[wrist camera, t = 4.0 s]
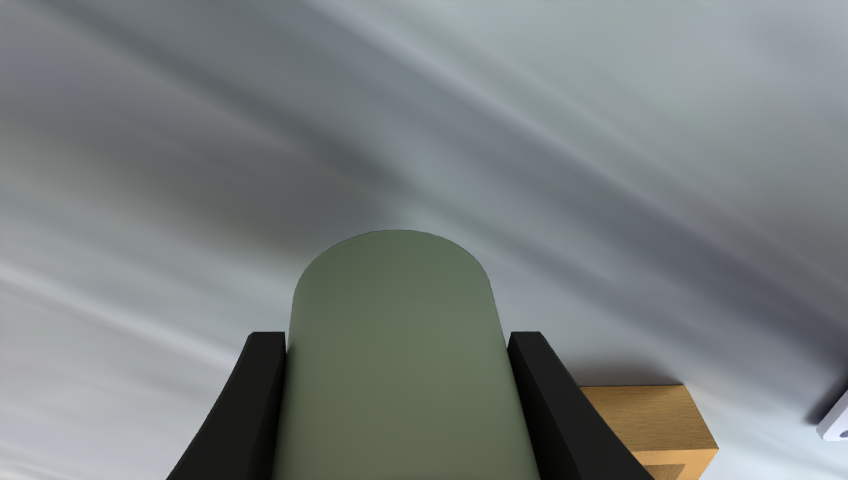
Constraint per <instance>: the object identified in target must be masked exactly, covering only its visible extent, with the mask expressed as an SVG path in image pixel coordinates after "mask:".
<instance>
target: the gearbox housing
mask: <svg viewBox="0 0 848 480" xmlns="http://www.w3.org/2000/svg"><path fill="white" fill-rule="evenodd" d="M579 388H580V389H581V390H582V392H583V393H584V394H585V396H586V397H587V398H588V400H589V401H590V402H591V404H592V405H593V406H594V407H595V409H596V410H597V411H598V413H599V414H600V415H601V417H602V418H603V419H604V420H605V422H606V423H607V424H608V425H609V427H610V428H611V429H612V430H613V432H614V433H615V434H616V435H617V437H618V438H619V439H620V440H621V441H622V442H623V444H624V445H625V446H626V447H627V448H628V449H629V451H630V452H631V453H632V454H633V455H634V457H635V458H636V459H637V460H638V461H639V462H640V463H641V464H642V466H643V467H644V468H645V469H646V470H647V471H648V472H649V473H650V474H651V475H652V476H653V478H654V479H655V480H698V479H699V478H700V476H701V475H702V473H703V472H704V470H705V469H706V467H707V466H708V464H709V463H710V462H711V460H712V459H713V457H714V456H715V454H716V453H717V451H718V450H719V448H718V446H717V444H716V442H715V440H714V438H713V436H712V435H711V433H710V431H709V429H708V427H707V425H706V423H705V421H704V420H703V418H702V416H701V414H700V412H699V410H698V408H697V406H696V405H695V403H694V401H693V399H692V397H691V395H690V393H689V391H688V390H687V388H686V386H685V385H677V386H614V387H579Z"/></svg>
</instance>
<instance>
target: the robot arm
mask: <svg viewBox="0 0 848 480" xmlns="http://www.w3.org/2000/svg"><path fill="white" fill-rule="evenodd" d="M507 351H508V355H509V359H510V363H511V367H512V370H513V374H514V378H515V382H516V386H517V390H518V394H519V398H520V402H521V405H522V409H523V413H524V417H525V421H526V425H527V429H528V433H529V436H530V440H531V444H532V448H533V452H534V456H535V460H536V464H537V467H538V471H539V475H540V479H541V480H655V479H654V478H653V476H652V475H651V474H650V473H649V472H648V471H647V470H646V469H645V468H644V467H643V466H642V464H641V463H640V462H639V461H638V460H637V459H636V458H635V457H634V455H633V454H632V453H631V452H630V451H629V449H628V448H627V447H626V446H625V445H624V444H623V442H622V441H621V440H620V439H619V438H618V437H617V435H616V434H615V433H614V432H613V430H612V429H611V428H610V427H609V425H608V424H607V423H606V422H605V420H604V419H603V418H602V417H601V415H600V414H599V413H598V411H597V410H596V409H595V407H594V406H593V405H592V404H591V402H590V401H589V400H588V398H587V397H586V396H585V394H584V393H583V392H582V390H581V389H580V388H579V386H578V385H577V383H576V382H575V381H574V379H573V378H572V376H571V375H570V374H569V372H568V371H567V369H566V368H565V367H564V365H563V364H562V362H561V361H560V359H559V358H558V356H557V355H556V354H555V352H554V351H553V349H552V348H551V346H550V345H549V343H548V342H547V340H546V339H545V337H544V336H543V335H542V334H541V333H540V332H511V336H510V339H509V343H508V347H507ZM285 362H286V343H285V332H253V333H251V334H250V335H249V336H248V338H247V340H246V343H245V345H244V348H243V350H242V352H241V355H240V357H239V359H238V361H237V363H236V365H235V367H234V369H233V371H232V373H231V375H230V377H229V379H228V381H227V383H226V385H225V386H224V388H223V390H222V392H221V394H220V395H219V397H218V399H217V401H216V402H215V404H214V406H213V407H212V409H211V411H210V413H209V414H208V416H207V418H206V420H205V421H204V423H203V425H202V426H201V428H200V429H199V431H198V433H197V434H196V436H195V437H194V439H193V440H192V442H191V443H190V445H189V446H188V448H187V449H186V451H185V452H184V454H183V455H182V457H181V458H180V460H179V461H178V463H177V464H176V466H175V467H174V469H173V470H172V472H171V473H170V474H169V476H168V477H167V479H166V480H271V478H272V470H273V462H274V453H275V445H276V437H277V428H278V420H279V412H280V403H281V396H282V387H283V379H284V371H285ZM816 432H817V433H818V435H819V436H820V438H821V439H823V440H826V441H842V440H848V390H847V391H846V392H845V393H844V394H843V396H842V397H841V398H840V399H839V400H838V402H837V403H836V404H835V405H834V407H833V408H832V409H831V410H830V411H829V413H828V414H827V415H826V416H825V417H824V419H823V420H822V421H821V422H820V423H819V425H818V426H817V428H816Z"/></svg>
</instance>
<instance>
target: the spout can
mask: <svg viewBox="0 0 848 480" xmlns="http://www.w3.org/2000/svg"><path fill="white" fill-rule="evenodd" d="M271 480H541V479H540V475H539V471H538V467H537V464H536V460H535V456H534V452H533V448H532V444H531V440H530V436H529V433H528V429H527V425H526V421H525V417H524V413H523V409H522V405H521V402H520V398H519V394H518V390H517V386H516V382H515V378H514V374H513V370H512V367H511V363H510V359H509V355H508V351H507V347H506V343H505V339H504V336H503V332H502V328H501V324H500V320H499V316H498V312H497V308H496V305H495V301H494V297H493V293H492V289H491V285H490V281H489V279H488V277H487V274H486V272H485V271H484V269H483V268H482V266H481V265H480V263H479V262H478V261H477V260H476V259H475V258H474V257H473V256H472V255H471V254H470V253H469V252H467V251H466V250H465V249H464V248H462V247H460V246H459V245H457V244H455V243H454V242H451V241H449V240H447V239H445V238H442V237H439V236H436V235H433V234H429V233H425V232H419V231H412V230H383V231H376V232H370V233H366V234H362V235H358V236H355V237H352V238H350V239H347V240H344V241H342V242H340V243H338V244H336V245H334V246H332V247H331V248H329V249H328V250H326V251H325V252H323V253H322V254H321V255H320V256H318V257H317V258H316V259H315V260H314V261H313V262H312V263H311V264H310V265H309V266H308V267H307V269H306V270H305V271H304V273H303V274H302V276H301V277H300V279H299V281H298V284H297V286H296V288H295V292H294V297H293V303H292V312H291V320H290V328H289V337H288V345H287V353H286V362H285V371H284V379H283V387H282V396H281V403H280V412H279V420H278V428H277V437H276V445H275V453H274V462H273V470H272V478H271Z"/></svg>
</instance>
